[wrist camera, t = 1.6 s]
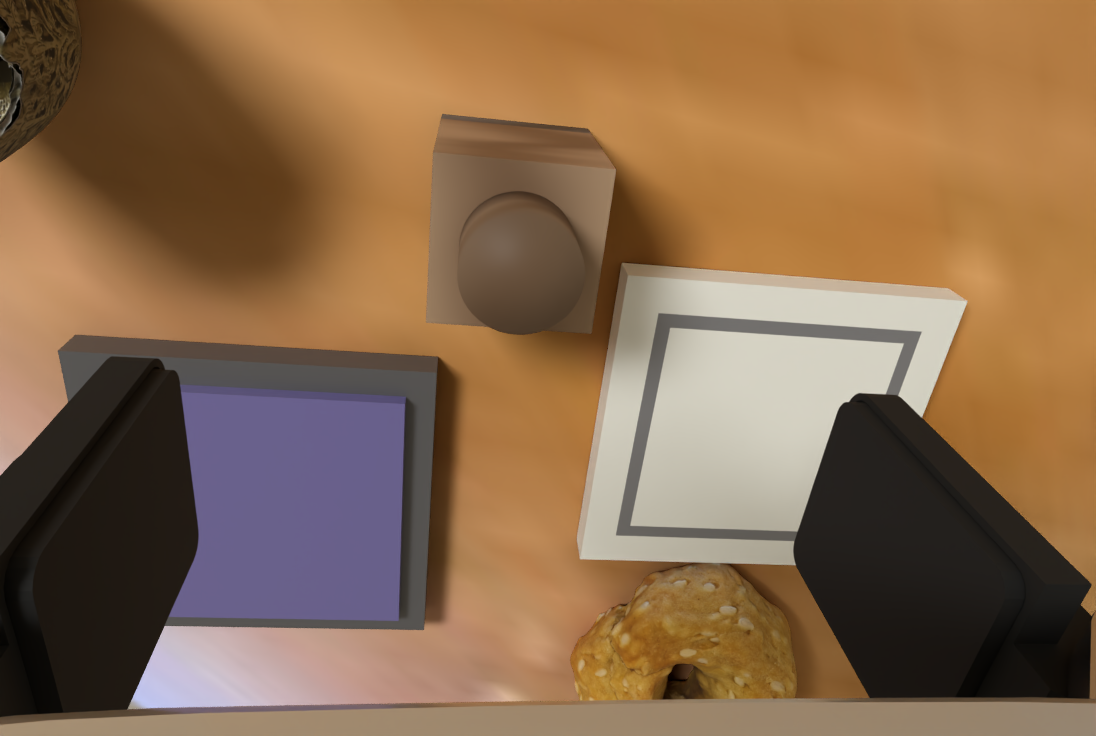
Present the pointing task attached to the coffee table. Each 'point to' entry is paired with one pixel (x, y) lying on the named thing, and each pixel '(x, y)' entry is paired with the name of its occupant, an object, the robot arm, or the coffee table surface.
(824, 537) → the robot arm
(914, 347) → the board
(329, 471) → the ink pad
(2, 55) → the cup
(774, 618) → the bagel
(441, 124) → the stamp
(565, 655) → the coffee table surface
